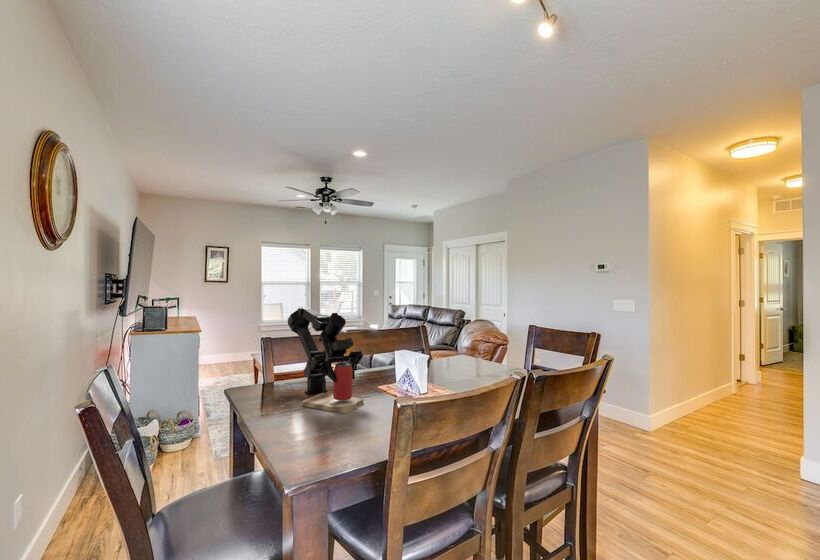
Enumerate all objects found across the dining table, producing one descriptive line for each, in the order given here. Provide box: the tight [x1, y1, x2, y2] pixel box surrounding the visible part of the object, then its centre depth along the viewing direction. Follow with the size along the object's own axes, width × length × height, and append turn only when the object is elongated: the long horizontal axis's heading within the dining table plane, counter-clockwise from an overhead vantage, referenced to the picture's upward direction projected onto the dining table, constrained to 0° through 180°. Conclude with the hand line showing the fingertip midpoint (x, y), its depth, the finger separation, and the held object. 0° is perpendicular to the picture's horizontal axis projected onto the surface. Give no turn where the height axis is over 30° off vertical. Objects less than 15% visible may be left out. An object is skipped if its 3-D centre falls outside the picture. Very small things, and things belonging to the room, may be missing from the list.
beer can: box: [332, 362, 353, 401], centre depth 137 cm, size 7×7×12 cm
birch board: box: [301, 392, 364, 414], centre depth 139 cm, size 18×12×2 cm, turn 66°
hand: (345, 380), depth 136 cm, fingers closed on beer can, 7 cm apart
